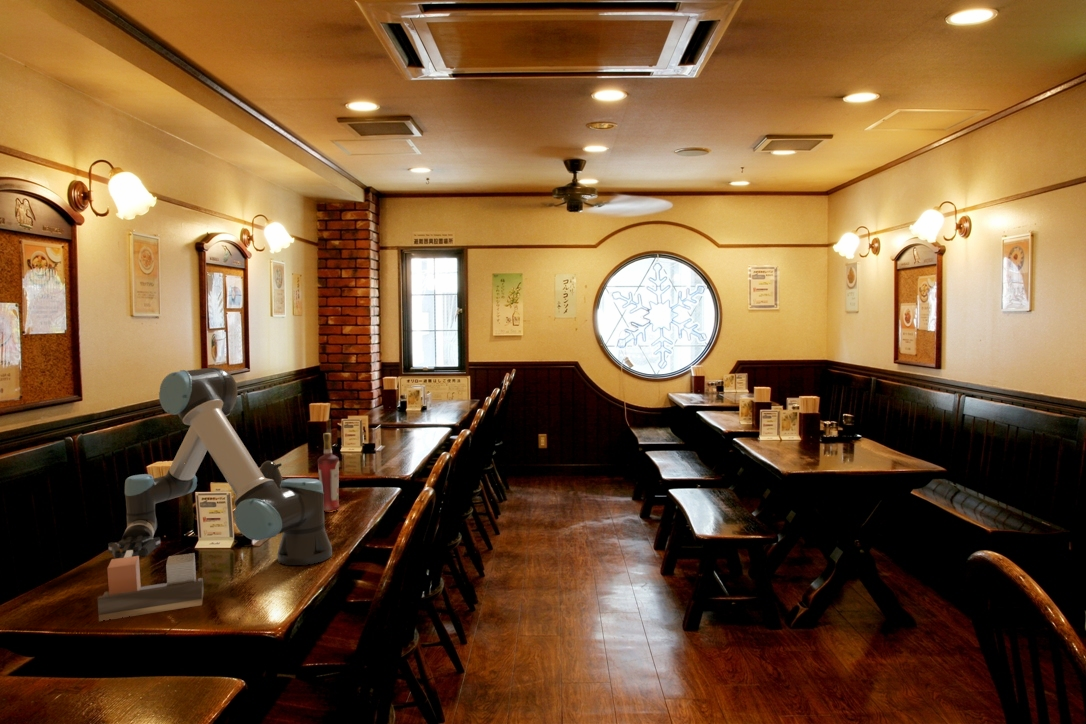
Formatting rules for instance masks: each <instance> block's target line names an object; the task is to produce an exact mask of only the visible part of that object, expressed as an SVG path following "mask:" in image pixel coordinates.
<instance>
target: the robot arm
mask: <svg viewBox="0 0 1086 724" xmlns="http://www.w3.org/2000/svg"><path fill="white" fill-rule="evenodd" d="M158 396H159V397H158V399H159V403H160V406H161V407H162V409H163V410H164V412H165V413H167V414H171V415H173V416H174V415H178V417H179V419H180V421H182V423H183V424H184V425H186V426H189V428H188V429H187V430H188V431H187V432H186V434H185V436H184V438H183V441H182V442H181V445H180V446H179V449H178V450H177V452H176V455H175V457H174V459H173V461H172V462H171V463H170V464H171V465H170V466H169V468H168V471H167V472H166V474H165V475H163V476H158V477H154V476H153V474H148V473H144V474H143V473H142V474H135V475H131V476H129V477H127V478H126V479H125V482H124V496H125V506H126V529H125V531H124V533H123V535H122V537H121V540H119V541H118V542H109V543H108V553H110V554H112V556H113V559H117V558H125V557H133V556H139V557H141V558H146V557H148V556H149V555H150V554H151V553H152V552H153V551H155V549H157V548H159V547H161V537H160V536H157V537H154V535H155V533H156V531H157V528H158V520H157V516H156V504H158V503H162V502H165V501H169V500H172V499H175V498H179V497H184V496H186V495H188V494H191V493H193V492H194V491H195V490H196V489H197V486H198V484H197V482H198V477H197V476H196V473H197V471H198V470H199V468H200V465H201V463H202V462H203V460H204V458H205V455H206V453H207V452H208V453H209V455H210V457H211V458H212V459H213V461H214V463H215V465H216V466H217V467H218V469H219V471H220V472H221V474H222V475H223V477H224V478H225V480H226V482H227V483H228V485H229V486H230V488H231V489H232V491H233V493H234V494H235V499H234V502H233V504H234V506H235V509H234V514H233V516H234V517H235V518H234V523H235V526H236V528H237V530H238V531H239V532H240V534H242V535H243V536H245V537H246V538H247V539H249V540H252V541H264V540H267V539H272V538H274V537H276V536H277V535H279V534H282V536H281V539H280V543H279V546H278V550H277V552H276V553H277V555H276V556H277V562H278V563H279V562H280V563H282V564H281V565H283V564H285V566H288V565H303V566H308V564H310V565H314V563H315V564H318V562H319V563H321V562H324V561H326V560H328V559H329V558H331V557H332V556H333V547H332V544H331V541H330V539H329V537H328V534H327V531H326V527H325V512H324V495H323V494H324V492H323V485H322V483H321V481H319V479H317V478H304V477H303V478H300V477H299V478H287V479H282V481H281V485H280V487H281V489H279V488H278V487H277V485H276V483H275V482H274V480H272V479H267V478H265V477H264V476H263V474H262V472H261V471H260V467H259V466H258V464H257V463H256V462H255V460H254V459H253V457H252V455H251V454H250V452H249V450H248V449H247V447H246V446H245V445H244V443H243V441H242V440H241V438H240V437H239V435H238V433H237V432H236V431H235V429H234V427H233V426H232V424H231V423H230V421H229V420H228V418H227V416H229V415H230V414H231V413H232V411H233V409H234V407H235V405H236V402H237V398H238V385H237V382H236V379H235V378H234V376H233V375H232V374H231V373H230V372H229V371H227V370H226V369H223V368H220V367H214V366H213V367H207V368H198V369H190V370H188V369H187V370H184V369H183V370H179V371H173V372H170V373H169V374H167V375H166V376H165V377H164V378H163V379H162V381H161V383H160V386H159V392H158ZM184 463H185V464H184ZM280 563H279V564H280Z"/></svg>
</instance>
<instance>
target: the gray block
mask: <svg viewBox="0 0 1086 724" xmlns="http://www.w3.org/2000/svg"><path fill="white" fill-rule="evenodd" d="M195 555H196V554H195V552H192V553H183V554H177V555H169V556H168V557H167V560H166V565H165V568H166V583H167V586H172V585H179V584H185V583H192V582H197V574H196V573H197V571H196V569H197V568H196V556H195Z"/></svg>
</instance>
